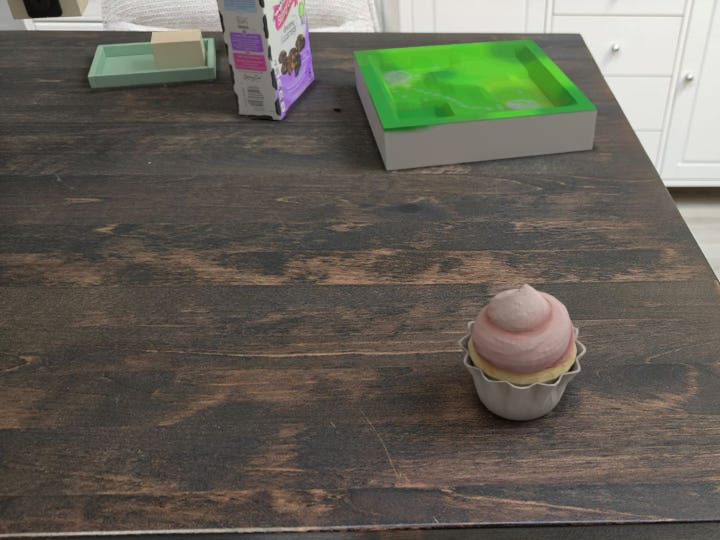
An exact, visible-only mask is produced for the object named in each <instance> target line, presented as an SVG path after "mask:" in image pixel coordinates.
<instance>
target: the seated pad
mask: <svg viewBox="0 0 720 540" xmlns="http://www.w3.org/2000/svg"><path fill="white" fill-rule="evenodd" d="M203 39H204V38H203V35H202V30H201V28H194V29H192V28H191V29H176V30H159V31H152V32H151V38H150V42H151V43H150V44H151V48H152V52H153V56H154V60H155V63H156V67H157V70H160V69H174V68H188V67H202V66H206V53H205V48H204V43H203Z"/></svg>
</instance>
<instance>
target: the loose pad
mask: <svg viewBox="0 0 720 540" xmlns="http://www.w3.org/2000/svg"><path fill="white" fill-rule="evenodd" d="M6 2H7V5H8V7H9V10H10V13H11V16H12V18H13V20H33V19H36V18H31V17H29V16H28V14H27V11H26V8H25V6H24V3H23V0H6ZM59 2H60V5H61V8H62V11H63V13H62V15H61V16H60V17H59V18H73V17H75V18H76V17H82V16H83V15H84V14H85V11H86V9H87V6H88V4H89V0H59ZM53 18H57V17H46V18H45V19H53Z"/></svg>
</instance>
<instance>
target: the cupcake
mask: <svg viewBox="0 0 720 540" xmlns="http://www.w3.org/2000/svg"><path fill="white" fill-rule="evenodd" d="M467 330H468V333H467V334H466V335H464V336H462V337H461V338H460V339H459V341H457V343H458V346H459V347H460V349H461V350H462V352H463V355H464V357H463V365H464V366H465V367H466V369H467V370H468V372H469V373H470V374H471V375H472V378H473V383H474V387H475V390H476V393H477V396H478V398H479V400H480V402H481V403H482V404H483V405H484V406H485V408H486V409H487V410H488V411H489V412H491V413H493V414H495V415H496V416H498V417H501V418H503V419H506V420H512V421H532V420H536V419H538V418H541V417H544V416H546V415H547V414H549V413H550V412H551V411H552V410H553V409H555V407H556V406H557V405H558V404H559V402H560V400H561V398H562V396H563V393H564V392H565V390H566V387H567V385H568V383H569V382H570V381H572V379H574V378H575V377H576V376H577V375H578V374H579V373H580V372H581V364H580V362H579V361H580V360H581V359H582V358H583V356H584V355H585V353H586V351H587V348H586V346H585V345H584V344H583V343H582V342H580V341H579V340H578V337H579V336H578V335H579V327H576V326H574V325H573V322H572V320H571V317H570V315H569V312H568V309H567V307H566V306H565V305H564V304H563V303H562V302H561V301H560V300H558V299H557V298H556V297H555V296H553V295H551V294H549V293H546V292H544V291H539V290H536V289H535V288H534V287H532V285H529V284H528V283H524V284H523V285H521V286H520V288H512V289H507V290H504V291H501V292H499V293H497V294H495V295H494V296H493V297H492V298H491V300H490V302H489V303H488V304H486V305H485V306H484V307H483V308H482V309H481V310H480V311H479V313H478V314H477V316H476V318H475V320H472V321H471V320H470V321H468V323H467Z"/></svg>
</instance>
